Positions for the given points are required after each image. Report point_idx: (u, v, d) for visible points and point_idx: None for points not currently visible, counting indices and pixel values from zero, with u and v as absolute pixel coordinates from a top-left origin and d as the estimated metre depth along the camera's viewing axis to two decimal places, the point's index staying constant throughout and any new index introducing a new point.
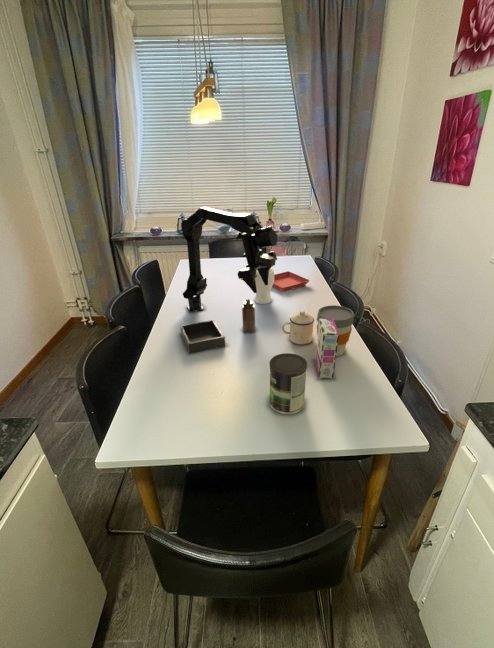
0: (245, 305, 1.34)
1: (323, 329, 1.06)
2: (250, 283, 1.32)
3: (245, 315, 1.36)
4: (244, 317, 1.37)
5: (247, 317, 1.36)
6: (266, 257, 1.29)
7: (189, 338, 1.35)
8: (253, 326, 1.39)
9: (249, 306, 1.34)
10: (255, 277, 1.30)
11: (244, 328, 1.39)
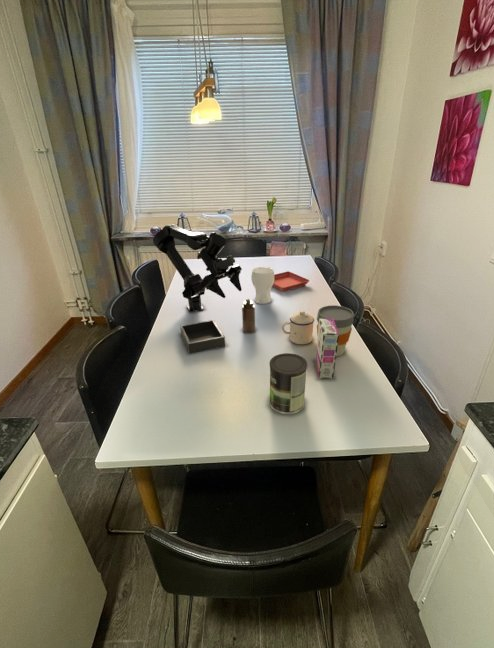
0: (245, 305, 1.34)
1: (323, 329, 1.06)
2: (216, 290, 1.36)
3: (245, 315, 1.36)
4: (244, 317, 1.37)
5: (247, 317, 1.36)
6: None
7: (189, 338, 1.35)
8: (253, 326, 1.39)
9: (249, 306, 1.34)
10: (216, 281, 1.34)
11: (244, 328, 1.39)
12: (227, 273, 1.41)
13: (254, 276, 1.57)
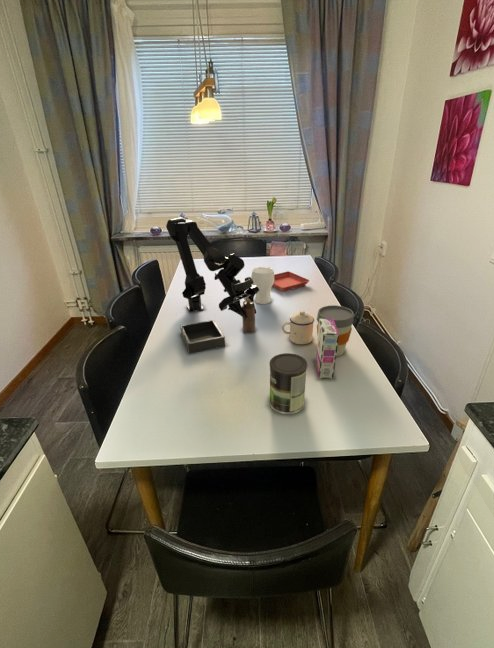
0: (245, 305, 1.34)
1: (323, 329, 1.06)
2: (238, 310, 1.35)
3: None
4: None
5: (247, 317, 1.36)
6: (240, 283, 1.32)
7: (189, 338, 1.35)
8: (253, 326, 1.39)
9: (249, 306, 1.34)
10: (238, 302, 1.33)
11: (244, 328, 1.39)
12: (245, 294, 1.39)
13: (254, 276, 1.57)
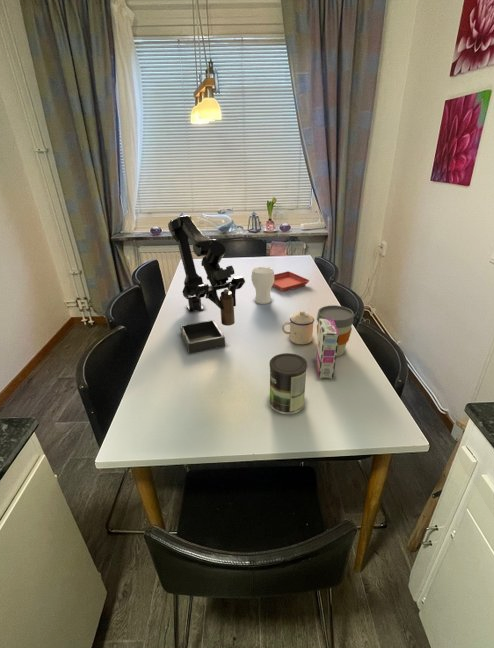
0: (221, 295, 1.26)
1: (323, 329, 1.06)
2: (214, 300, 1.28)
3: None
4: None
5: (223, 308, 1.27)
6: None
7: (189, 338, 1.35)
8: (230, 319, 1.30)
9: (225, 297, 1.25)
10: (214, 291, 1.25)
11: (221, 320, 1.31)
12: (228, 284, 1.30)
13: (254, 276, 1.57)
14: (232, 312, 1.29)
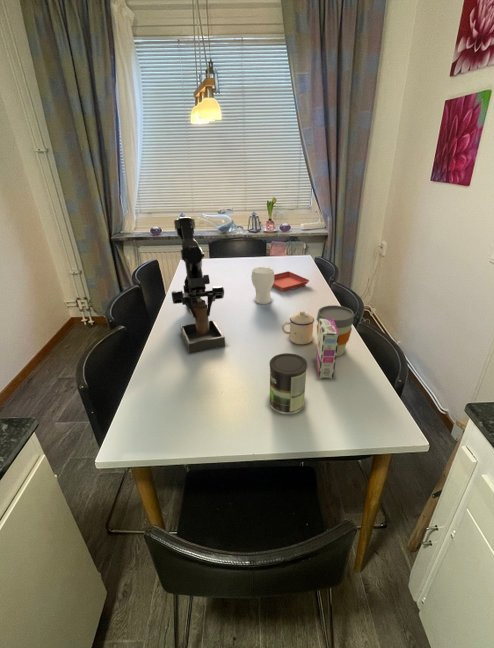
0: (194, 304, 1.24)
1: (323, 329, 1.06)
2: (189, 307, 1.26)
3: (194, 314, 1.25)
4: None
5: (195, 317, 1.26)
6: None
7: (189, 338, 1.35)
8: (203, 329, 1.27)
9: (197, 306, 1.23)
10: (187, 299, 1.24)
11: None
12: (206, 293, 1.28)
13: (254, 276, 1.57)
14: (205, 322, 1.26)
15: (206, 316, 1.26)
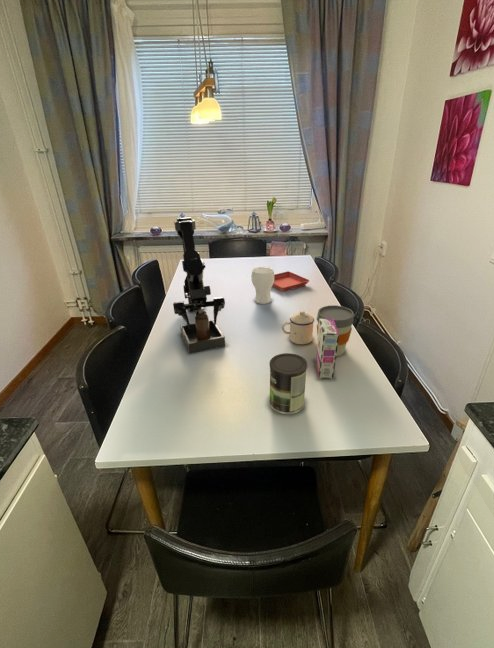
0: None
1: (323, 329, 1.06)
2: (185, 318, 1.28)
3: None
4: None
5: (196, 327, 1.28)
6: None
7: (189, 338, 1.35)
8: (204, 339, 1.30)
9: (198, 317, 1.25)
10: (183, 310, 1.26)
11: (197, 338, 1.32)
12: (207, 303, 1.30)
13: (254, 276, 1.57)
14: (206, 332, 1.29)
15: (207, 327, 1.28)
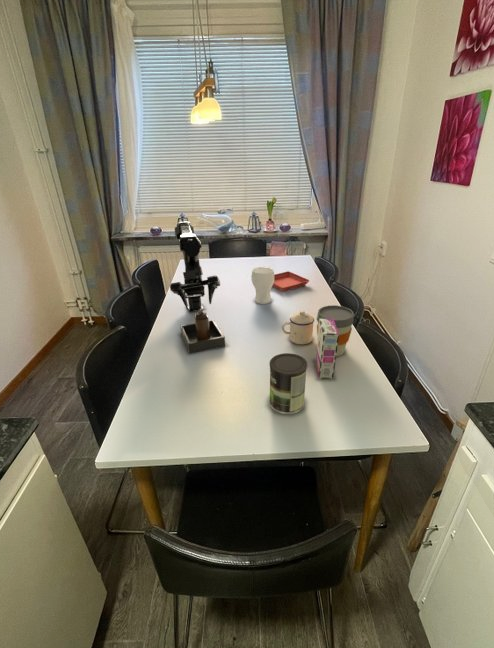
0: None
1: (323, 329, 1.06)
2: None
3: None
4: None
5: (196, 327, 1.28)
6: None
7: (189, 338, 1.35)
8: (204, 339, 1.30)
9: (198, 317, 1.25)
10: (179, 291, 1.33)
11: (197, 338, 1.32)
12: (202, 282, 1.35)
13: (254, 276, 1.57)
14: (206, 332, 1.29)
15: (207, 327, 1.28)
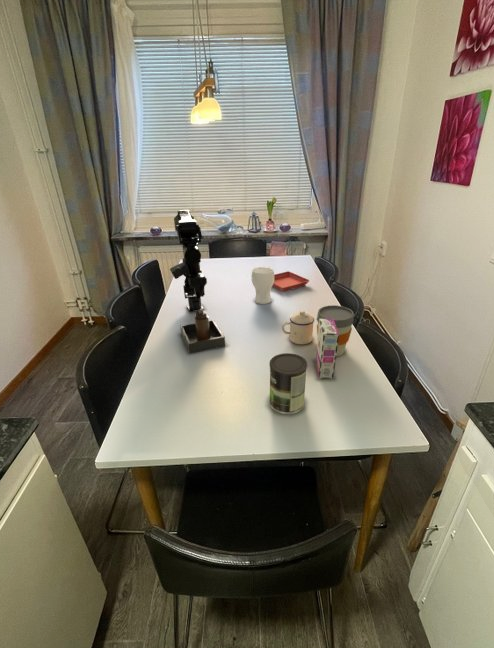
0: None
1: (323, 329, 1.06)
2: None
3: None
4: None
5: (196, 327, 1.28)
6: (176, 266, 1.33)
7: (189, 338, 1.35)
8: (204, 339, 1.30)
9: (198, 317, 1.25)
10: (184, 275, 1.41)
11: (197, 338, 1.32)
12: None
13: (254, 276, 1.57)
14: (206, 332, 1.29)
15: (207, 327, 1.28)
